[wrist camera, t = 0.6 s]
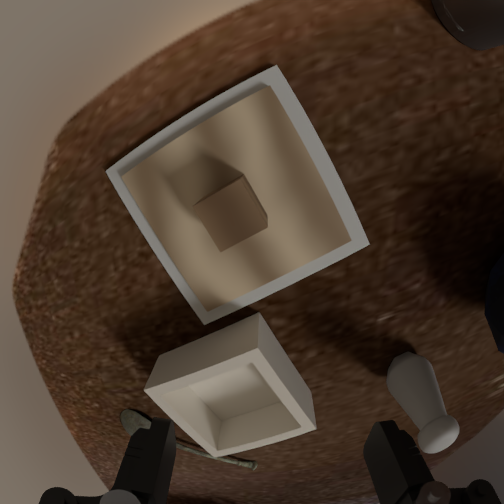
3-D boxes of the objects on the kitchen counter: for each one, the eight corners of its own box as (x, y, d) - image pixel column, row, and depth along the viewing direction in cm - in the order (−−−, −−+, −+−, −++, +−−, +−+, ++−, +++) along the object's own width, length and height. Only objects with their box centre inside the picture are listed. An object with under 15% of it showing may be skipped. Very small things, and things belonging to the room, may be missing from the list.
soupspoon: (125, 396, 38) (119, 417, 41) (116, 413, 35) (111, 433, 38) (265, 453, 40) (246, 469, 42) (263, 471, 37) (244, 485, 39)
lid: (269, 86, 24) (270, 75, 19) (349, 237, 28) (364, 256, 23) (124, 175, 27) (99, 182, 22) (208, 307, 31) (199, 335, 26)
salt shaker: (373, 380, 34) (404, 463, 22) (394, 343, 32) (437, 426, 20) (410, 383, 34) (446, 458, 22) (431, 348, 32) (478, 422, 20)
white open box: (259, 312, 31) (257, 347, 26) (311, 391, 35) (316, 428, 29) (159, 355, 34) (143, 390, 28) (219, 422, 37) (214, 457, 32)
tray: (276, 66, 24) (276, 64, 23) (367, 242, 28) (369, 244, 28) (108, 170, 27) (105, 171, 26) (205, 321, 32) (204, 325, 31)
